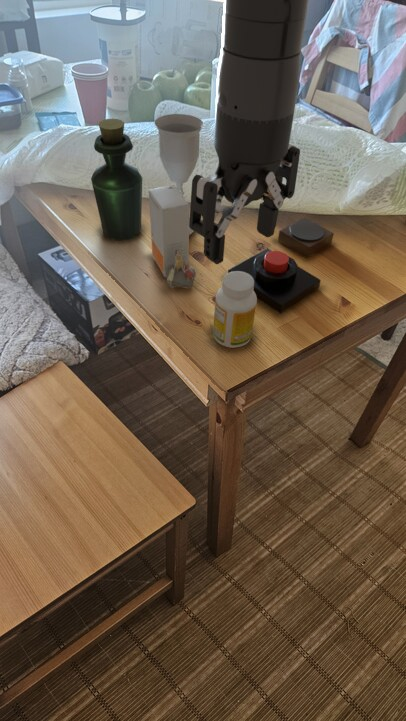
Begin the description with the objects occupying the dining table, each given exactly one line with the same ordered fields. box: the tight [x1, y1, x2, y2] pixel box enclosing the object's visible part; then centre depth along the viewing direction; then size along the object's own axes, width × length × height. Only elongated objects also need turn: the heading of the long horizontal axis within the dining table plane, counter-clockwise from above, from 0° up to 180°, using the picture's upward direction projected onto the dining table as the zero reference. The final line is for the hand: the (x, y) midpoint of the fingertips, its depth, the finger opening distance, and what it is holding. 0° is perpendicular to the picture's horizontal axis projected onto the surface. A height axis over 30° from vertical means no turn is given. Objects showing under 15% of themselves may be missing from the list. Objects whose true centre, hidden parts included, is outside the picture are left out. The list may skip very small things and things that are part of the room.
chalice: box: [154, 113, 204, 236], centre depth 82 cm, size 7×7×18 cm
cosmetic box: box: [148, 184, 190, 278], centre depth 77 cm, size 6×4×12 cm
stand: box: [277, 217, 335, 259], centre depth 86 cm, size 6×6×2 cm
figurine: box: [166, 250, 197, 289], centre depth 76 cm, size 5×4×6 cm
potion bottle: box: [90, 118, 143, 241], centre depth 81 cm, size 8×8×18 cm
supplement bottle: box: [212, 271, 258, 349], centre depth 67 cm, size 5×5×10 cm
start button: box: [264, 250, 290, 274], centre depth 76 cm, size 4×4×2 cm
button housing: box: [227, 247, 322, 314], centre depth 77 cm, size 11×9×4 cm
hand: (240, 246), depth 60 cm, fingers open, 8 cm apart
